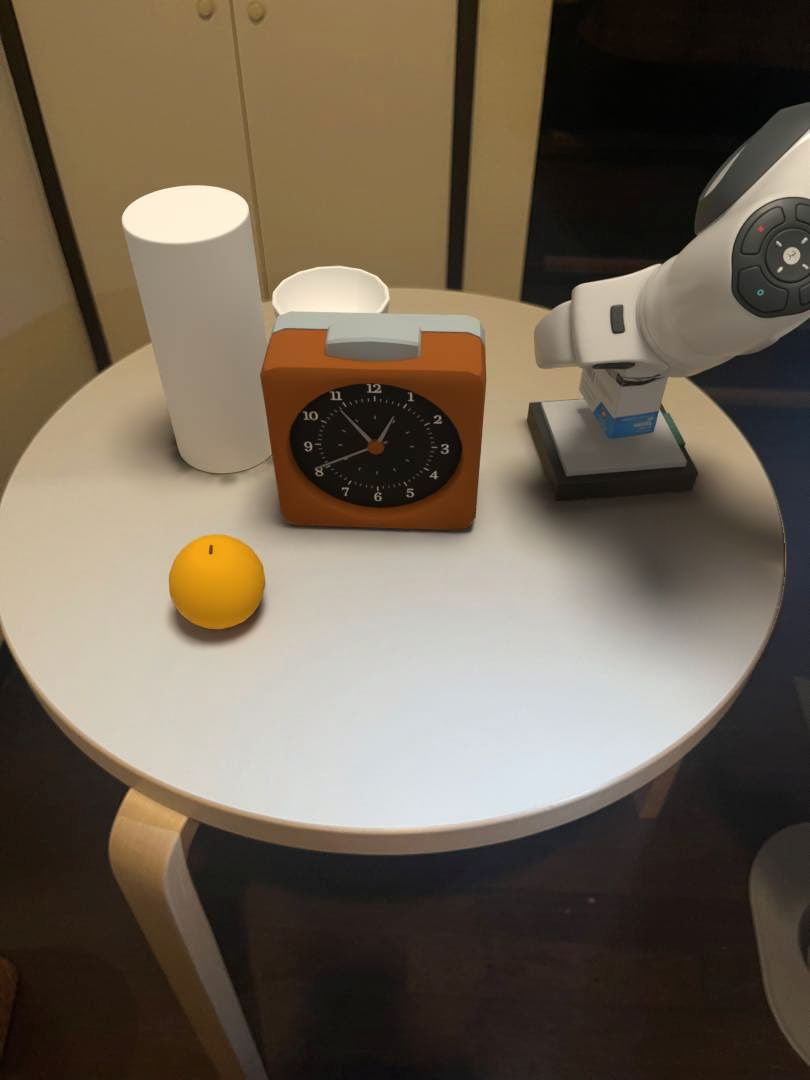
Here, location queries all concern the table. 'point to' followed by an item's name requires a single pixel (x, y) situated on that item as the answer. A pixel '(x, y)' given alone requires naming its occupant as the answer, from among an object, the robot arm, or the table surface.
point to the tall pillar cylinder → (204, 320)
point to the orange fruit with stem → (216, 581)
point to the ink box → (623, 399)
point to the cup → (331, 292)
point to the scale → (606, 454)
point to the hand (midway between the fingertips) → (625, 353)
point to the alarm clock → (376, 418)
